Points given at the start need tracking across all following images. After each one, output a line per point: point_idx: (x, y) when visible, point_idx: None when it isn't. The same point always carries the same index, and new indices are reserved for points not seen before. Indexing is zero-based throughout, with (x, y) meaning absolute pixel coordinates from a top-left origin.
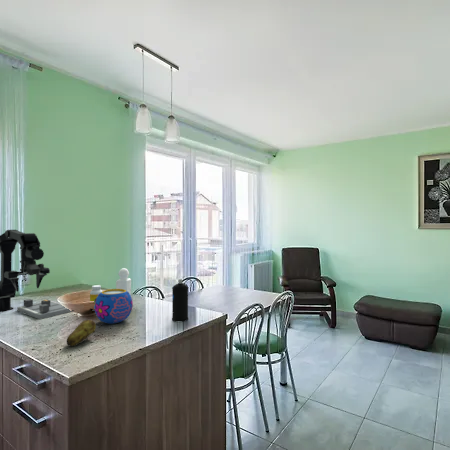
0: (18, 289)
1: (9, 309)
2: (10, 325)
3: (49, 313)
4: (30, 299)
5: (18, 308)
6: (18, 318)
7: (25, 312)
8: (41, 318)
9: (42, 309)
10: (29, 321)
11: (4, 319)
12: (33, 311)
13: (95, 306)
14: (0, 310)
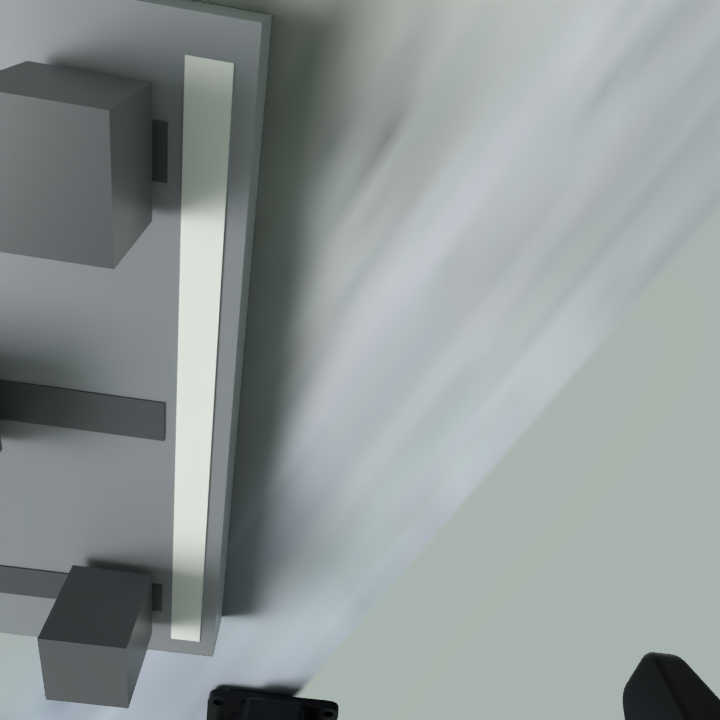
0: (692, 713)
1: (251, 693)
2: (685, 138)
3: None
4: (51, 673)
5: (216, 625)
6: (399, 355)
7: (231, 466)
8: (230, 9)
9: (133, 112)
10: (427, 58)
11: (501, 457)
12: (197, 335)
13: None
14: (327, 715)
